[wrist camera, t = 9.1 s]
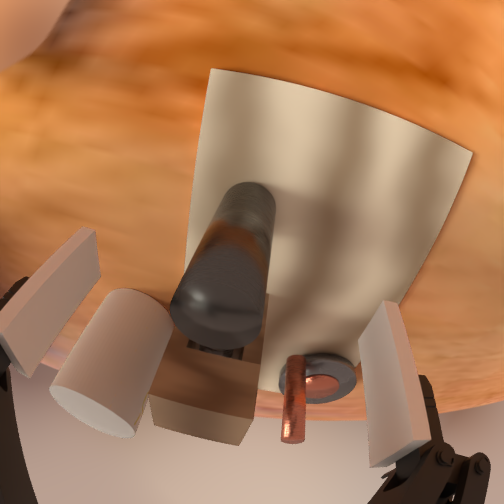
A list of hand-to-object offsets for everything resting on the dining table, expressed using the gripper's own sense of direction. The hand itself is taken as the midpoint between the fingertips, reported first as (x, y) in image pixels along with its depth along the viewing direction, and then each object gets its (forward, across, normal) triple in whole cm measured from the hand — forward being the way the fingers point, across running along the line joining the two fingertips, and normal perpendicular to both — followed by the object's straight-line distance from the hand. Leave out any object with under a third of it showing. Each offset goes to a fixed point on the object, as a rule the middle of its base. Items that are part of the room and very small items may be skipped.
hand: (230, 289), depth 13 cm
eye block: (+10, +5, -7) cm, 13 cm away
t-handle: (+8, 0, -6) cm, 10 cm away
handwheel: (+8, +9, -16) cm, 20 cm away
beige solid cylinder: (+10, -9, -16) cm, 21 cm away
